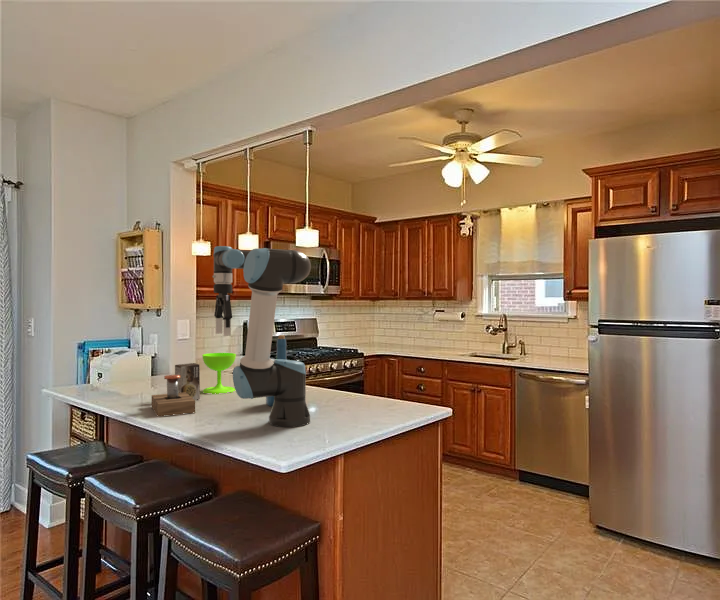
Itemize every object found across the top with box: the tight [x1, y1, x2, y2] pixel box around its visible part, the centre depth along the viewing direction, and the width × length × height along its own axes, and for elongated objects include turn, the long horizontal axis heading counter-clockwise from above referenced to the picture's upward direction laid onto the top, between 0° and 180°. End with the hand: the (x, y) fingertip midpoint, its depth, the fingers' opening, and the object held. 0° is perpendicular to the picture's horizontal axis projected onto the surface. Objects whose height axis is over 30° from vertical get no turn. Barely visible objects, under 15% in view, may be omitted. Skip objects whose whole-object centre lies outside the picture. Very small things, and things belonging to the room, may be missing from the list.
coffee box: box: [174, 362, 201, 401], centre depth 238 cm, size 9×6×16 cm
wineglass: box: [201, 352, 237, 395], centre depth 261 cm, size 16×16×18 cm
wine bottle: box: [265, 334, 288, 408], centre depth 229 cm, size 14×13×30 cm
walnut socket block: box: [151, 392, 196, 417], centre depth 218 cm, size 20×14×5 cm
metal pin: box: [164, 374, 181, 400], centre depth 218 cm, size 6×6×13 cm
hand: (222, 334), depth 222 cm, fingers open, 13 cm apart
